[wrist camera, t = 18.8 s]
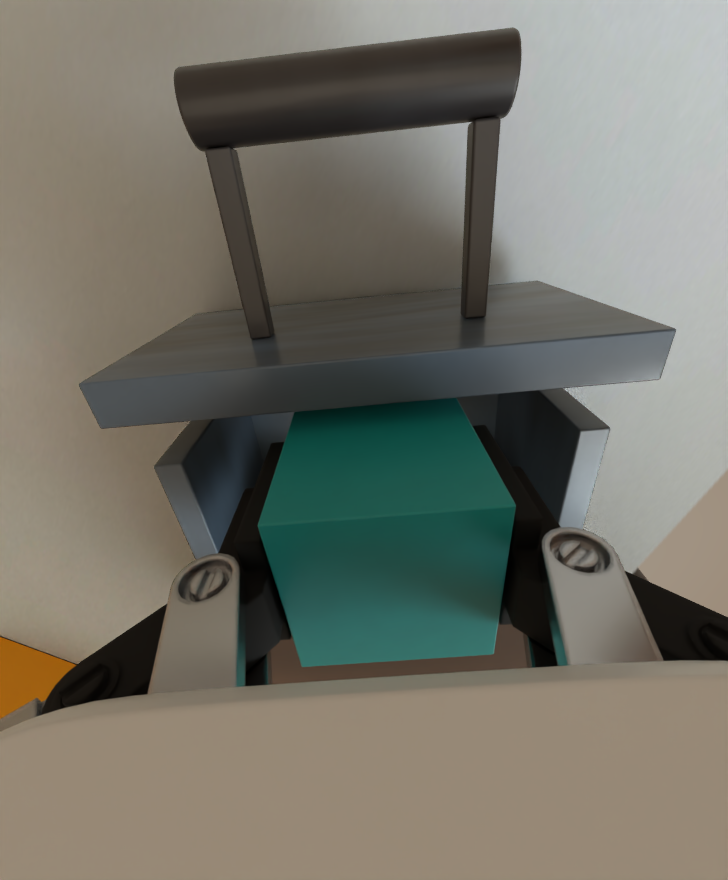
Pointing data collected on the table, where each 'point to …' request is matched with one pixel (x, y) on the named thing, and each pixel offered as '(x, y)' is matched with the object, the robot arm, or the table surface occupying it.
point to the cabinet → (399, 662)
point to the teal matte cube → (387, 534)
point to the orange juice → (26, 675)
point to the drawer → (371, 318)
